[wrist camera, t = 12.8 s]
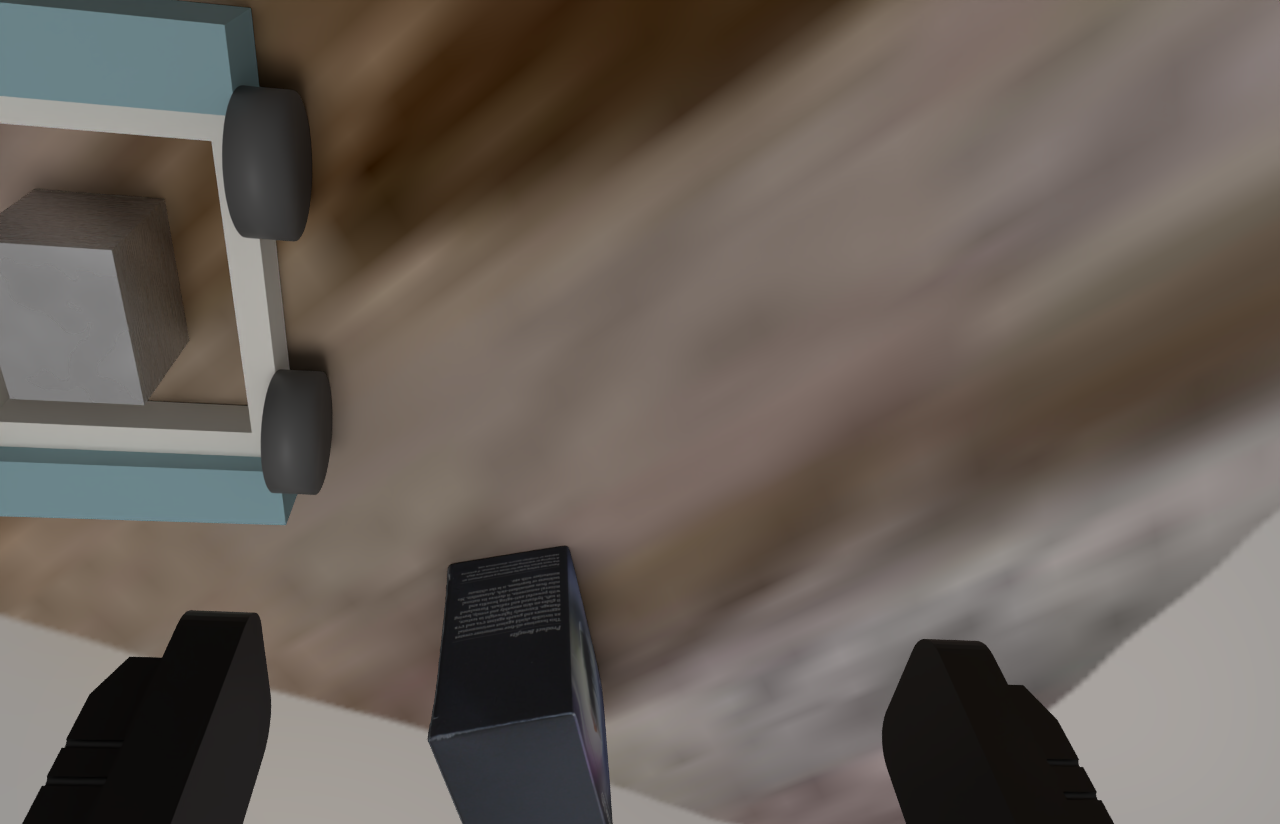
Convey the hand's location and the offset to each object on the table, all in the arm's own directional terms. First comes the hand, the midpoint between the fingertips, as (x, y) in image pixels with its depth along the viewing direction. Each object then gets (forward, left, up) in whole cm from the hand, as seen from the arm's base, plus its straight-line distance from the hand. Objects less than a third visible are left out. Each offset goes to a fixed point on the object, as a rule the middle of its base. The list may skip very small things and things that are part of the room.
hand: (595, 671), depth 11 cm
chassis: (+8, -17, -26) cm, 32 cm away
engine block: (+8, -17, -27) cm, 32 cm away
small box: (+27, 0, -27) cm, 38 cm away
